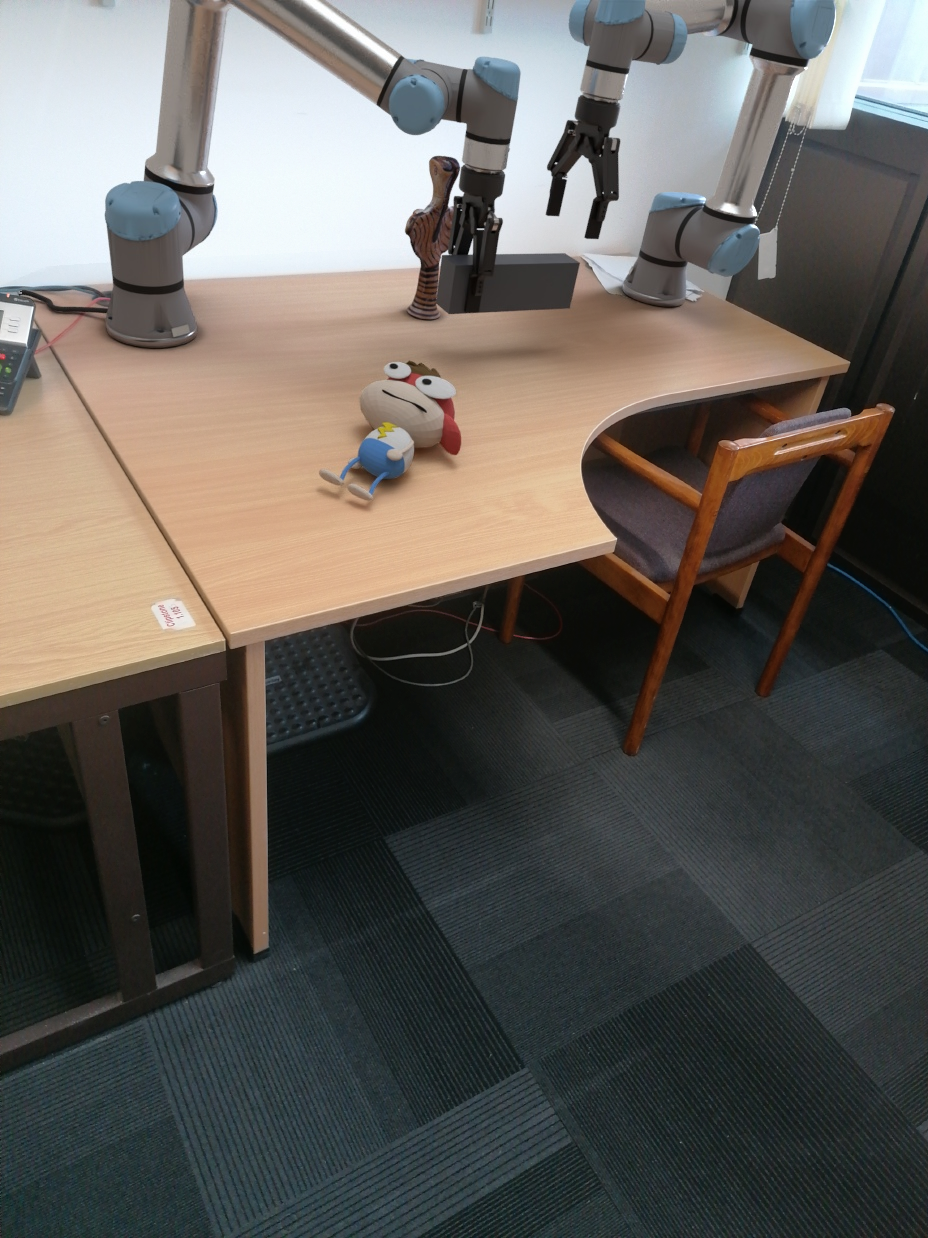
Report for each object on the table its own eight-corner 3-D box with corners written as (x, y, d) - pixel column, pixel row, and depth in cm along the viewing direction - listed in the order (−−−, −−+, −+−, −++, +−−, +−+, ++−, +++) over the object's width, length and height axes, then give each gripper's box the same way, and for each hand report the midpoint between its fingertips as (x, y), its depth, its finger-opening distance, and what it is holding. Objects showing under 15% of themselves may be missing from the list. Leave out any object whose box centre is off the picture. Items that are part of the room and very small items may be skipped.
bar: (448, 314, 159) (455, 265, 154) (435, 303, 162) (441, 254, 157) (570, 308, 171) (580, 262, 165) (555, 298, 174) (565, 252, 169)
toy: (281, 425, 122) (398, 341, 141) (280, 482, 129) (391, 396, 148) (394, 483, 117) (499, 388, 137) (386, 539, 125) (486, 442, 144)
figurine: (432, 300, 190) (450, 146, 171) (461, 312, 187) (483, 156, 168) (388, 314, 180) (402, 152, 161) (417, 327, 177) (436, 163, 158)
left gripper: (530, 183, 144) (506, 323, 158) (477, 153, 155) (458, 286, 170) (491, 182, 140) (469, 325, 155) (439, 151, 152) (423, 287, 167)
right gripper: (660, 116, 147) (625, 248, 159) (578, 84, 163) (553, 207, 176) (624, 112, 143) (591, 247, 156) (544, 80, 160) (521, 205, 172)
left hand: (463, 305), depth 162 cm, fingers closed on bar, 5 cm apart
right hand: (571, 226), depth 166 cm, fingers open, 13 cm apart
